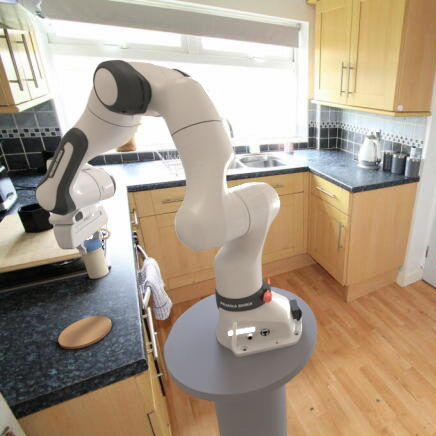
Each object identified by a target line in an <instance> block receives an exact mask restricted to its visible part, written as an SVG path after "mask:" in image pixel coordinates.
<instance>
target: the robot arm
mask: <svg viewBox="0 0 436 436" xmlns="http://www.w3.org/2000/svg"><path fill="white" fill-rule="evenodd" d="M93 72H94V73H93V75H92V76H93V77H92V88H91V90H90V93H89V94H88V95H89V96H88V98H87V103H86V106H85V108H84V110H83V112H82V114H80V117H79V118H78V120H76V122H75V123H74V125H73V126H71V128H69V130H67V131H66V133H65V134H64V135H63V136H62V138H61V140H60V141H59V144H58V145H57V148H56V150H55V152H54V155H53V156H52V157H50V158H48V159H47V160H46V169H47V170H46V173H45V174H44V176H43V177H42V178H40V179H39V180H38V183H37V184H36V187H35V189H34V197H35V200H36V203H37V204H38V206H39V207H40V208H41V209H42V210H44V211H46V212H48V213H50V214H51V215H50V216H49V217H48V222H49V224H50V225H53V228H52V231H53V236H54V238H55V241H56V244H57V246H58V247H59V248H60V249H62V250H78V252H79V254H80V255H81V256H82V255H85V254H87V253H88V252H89V251H88V248H87V247H84V246H83V245H84V241H85V240H86V239H87V238H89V237H90V236H91V235H93V238H92V239H95V238H97V239H100V233H101V231H102V230H100V228H104V226H105V225H107V223H108V220H109V217H108V215H107V213H106V209H105V208H104V205H103V204H101V202H103V201H106V200H108V199H110V198H112V197H113V196H114V195H115V193H116V191H117V184H116V180H115V178H114V176H113V174H111V173H110V171H108V170H106V169H104V168H102V167H96V166H94V165H92V164H89V163H88V162H89V161H91V160H93V159H94V158H96V157H98V156H100V155H102V154H105V153H107V152H109V151H112V150H115V149H117V148H120V147H122V146H125V145H127V144H128V143H129V142H130V141H131V140H132V139H133V137H134V136H135V134H136V133H137V131H138V128H139V126H140V123H141V120H142V117H154V118H162V119H163V121H164V123H165V124H166V127H167V129H168V132H169V135H170V137H171V139H172V142H173V144H174V147H175V149H176V151H177V154H178V157H179V160H180V163H181V165H182V168H183V172H184V176H185V194H184V197H183V200H182V203H181V205H180V207H179V208H178V209H177V211H176V213H175V217H174V221H173V222H174V225H173V226H174V232H175V234H176V236H177V239H178V240H179V241H180V242H181V244H183V246H184V247H186V248H187V249H189V250H192V251H194V252H199V253H200V252H203V251H208V250H213V249H217V248H219V249H218V251H217V252H216V254H215V256H214V259H213V264H212V265H213V273H214V280H215V288H214V294H215V299H216V304H217V308H218V309H219V317H218V326H217V331H216V337H217V340H218V341H219V343H220V344H222V345H223V346H225V347H227V348H229V349H230V350H231V351H232V352H233V354H234V355H235V356H237V357H242V356H246V355H251V354H256V353H260V352H265V351H269V350H274V349H278V348H283V347H287V346H292V345H295V344H297V342H298V341H299V339H300V337H301V334H302V320H301V317H302V311H301V309H300V308H299V307H298V304H297V300H296V299H294V300H290V302H289V300H288V299H287V298H286V297H284V296H282V295H280V294H277V293H275V292H273V291H271V287H272V286H271V280H270V278H267V281H265V280H264V279H263V272H262V271H263V267H262V266H263V265H262V256H263V251H264V246H265V242H266V238H267V235H268V233H269V230H270V227H271V225H272V223H273V221H274V220H275V218H276V217H277V216H278V215H279V213H280V209H281V201H280V196H279V195H278V192H277V190H276V189H275V188H274V187H273V186H272V185H270V184H269V183H267V182H246V183H243V184H240V185H236V186H234V187H231V188H229V187H228V183H227V175H228V174H227V173H228V171H229V170H230V169H231V168H232V166H233V164H234V163H235V160H236V152H235V149H234V147H233V145H232V141H231V140H230V137H229V134H228V132H227V129H226V127H225V125H224V122H223V120H222V117H221V115H220V113H219V111H218V109H217V107H216V104H215V102H214V101H213V99H212V98H211V96H210V94H209V93H208V91H207V89H206V88H205V86H204V85H203V84H202V83H201V82H200V81H199V80H198V79H196V78H194V77H193V76H191V75H190V74H189V73H188V72H185V71H183V70H181V69H178V68H170V67H166V66H163V65H158V64H157V65H156V64H153V63H150V62H142V61H126V60H123V59H110V60H105V61H101V62H100V63H98V65H97V66H96V68H95V70H94V71H93ZM100 240H101V239H100ZM245 350H246V351H245Z"/></svg>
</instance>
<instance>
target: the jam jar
mask: <svg viewBox="0 0 436 436" xmlns="http://www.w3.org/2000/svg"><path fill="white" fill-rule="evenodd" d="M81 257H82V260H83V264H84V266H85V269H86V272H87V275H88V278H89V279H100V278H104V277H105V276H107V275H108V274H109V273H110V270H109V267H108V263H107V260H106V256H105V252H104V250H103V247H101V248H99V249H97V250H95V251H92V252H88V253H87V254H85V255H81Z"/></svg>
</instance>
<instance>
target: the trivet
mask: <svg viewBox="0 0 436 436" xmlns="http://www.w3.org/2000/svg"><path fill="white" fill-rule="evenodd" d="M112 325H113V324H112V321H111V319H110V318H109V317H108V316H104V315H91V316H88V317H85V318H81V319H78V320H77V321H75V322H73V323H71V324H70V325H68V326H67V327H65V328H64V329H63V330H62V331H61V333H60V334H59V336H58V340H57V341H58V344H59V345H60V347H61V348H63V349H67V350H76V349H77V350H78V349H82V348H86V347H88V346H91V345H93V344H95V343H97V342H99V341H101V340H102V339H103V338H104V337H106V336H107V335H108V333H110V331H111V329H112Z"/></svg>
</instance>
